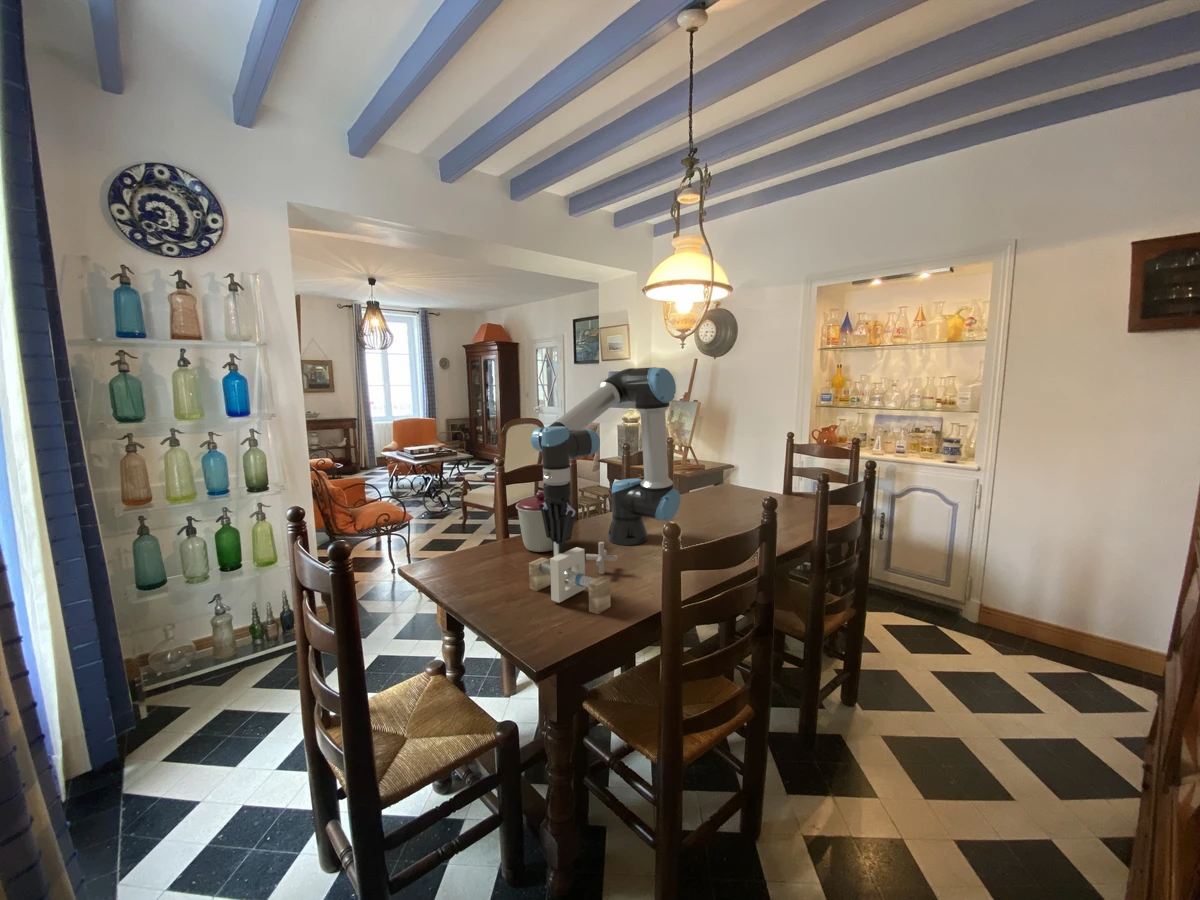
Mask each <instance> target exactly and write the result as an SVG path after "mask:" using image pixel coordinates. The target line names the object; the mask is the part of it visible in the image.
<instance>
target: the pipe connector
mask: <svg viewBox="0 0 1200 900" xmlns="http://www.w3.org/2000/svg"><path fill="white" fill-rule="evenodd" d="M597 545H598V554H596V553H585V561H586V560H587V561H596V562H595V566H596V567H598V573H599V574H600V575H604V574H605V570H606V569H605V566H606V565H605V562H618V555H615V554H614V555H613V554H608V550H607V549H605V542H604V541H598V544H597Z"/></svg>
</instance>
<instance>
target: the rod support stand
mask: <svg viewBox="0 0 1200 900" xmlns="http://www.w3.org/2000/svg"><path fill="white" fill-rule="evenodd" d="M543 562H545V563H548V564H550V558H545V557H540V558H537V559H535V560H533V561H530V562H528V573H529V575H528V576H529V578H528V579H529V589H530V590H532V591H535V592H539V591H541V590H542V589H544V588H547V587H548V586H551V575H548V574H545V573H542V572H540V570H539V567H540V564H541V563H543ZM588 584H589V589H588V612H590V613H593V614H595V615H600V614H601V613H603V612H604V611H606V610H607V609H609V608H610V607H612V606H611V605H612V604H611V578H609V577H606V576H603V575H601V576H598V577H597V578H595V580H593V581H591V582H589V583H588Z"/></svg>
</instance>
